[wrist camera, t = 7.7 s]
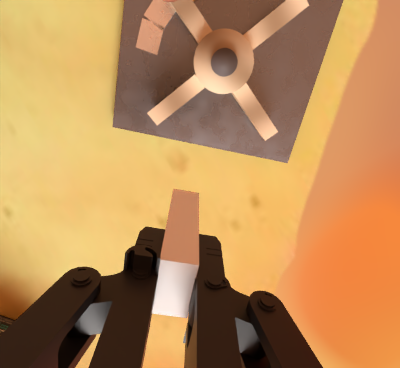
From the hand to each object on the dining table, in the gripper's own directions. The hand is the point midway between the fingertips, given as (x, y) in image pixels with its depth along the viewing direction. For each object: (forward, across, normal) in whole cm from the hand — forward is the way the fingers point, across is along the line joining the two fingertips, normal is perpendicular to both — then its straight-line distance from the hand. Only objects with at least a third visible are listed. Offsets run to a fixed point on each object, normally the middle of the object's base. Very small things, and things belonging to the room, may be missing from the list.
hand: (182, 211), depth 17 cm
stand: (+21, +2, +9) cm, 22 cm away
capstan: (+19, +2, +9) cm, 21 cm away
